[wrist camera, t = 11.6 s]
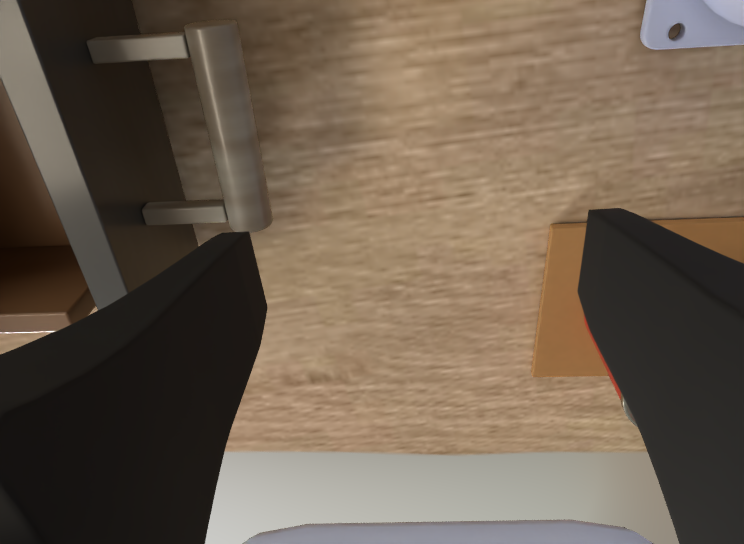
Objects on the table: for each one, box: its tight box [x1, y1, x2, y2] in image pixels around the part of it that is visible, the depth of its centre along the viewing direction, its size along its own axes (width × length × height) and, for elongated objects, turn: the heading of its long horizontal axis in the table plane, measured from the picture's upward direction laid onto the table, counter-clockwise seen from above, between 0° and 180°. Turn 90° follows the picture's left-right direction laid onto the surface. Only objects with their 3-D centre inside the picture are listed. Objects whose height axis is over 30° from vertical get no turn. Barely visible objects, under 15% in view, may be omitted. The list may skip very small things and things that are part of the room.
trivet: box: [531, 217, 744, 377], centre depth 23 cm, size 8×8×1 cm
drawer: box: [0, 0, 273, 333], centre depth 17 cm, size 16×12×6 cm
